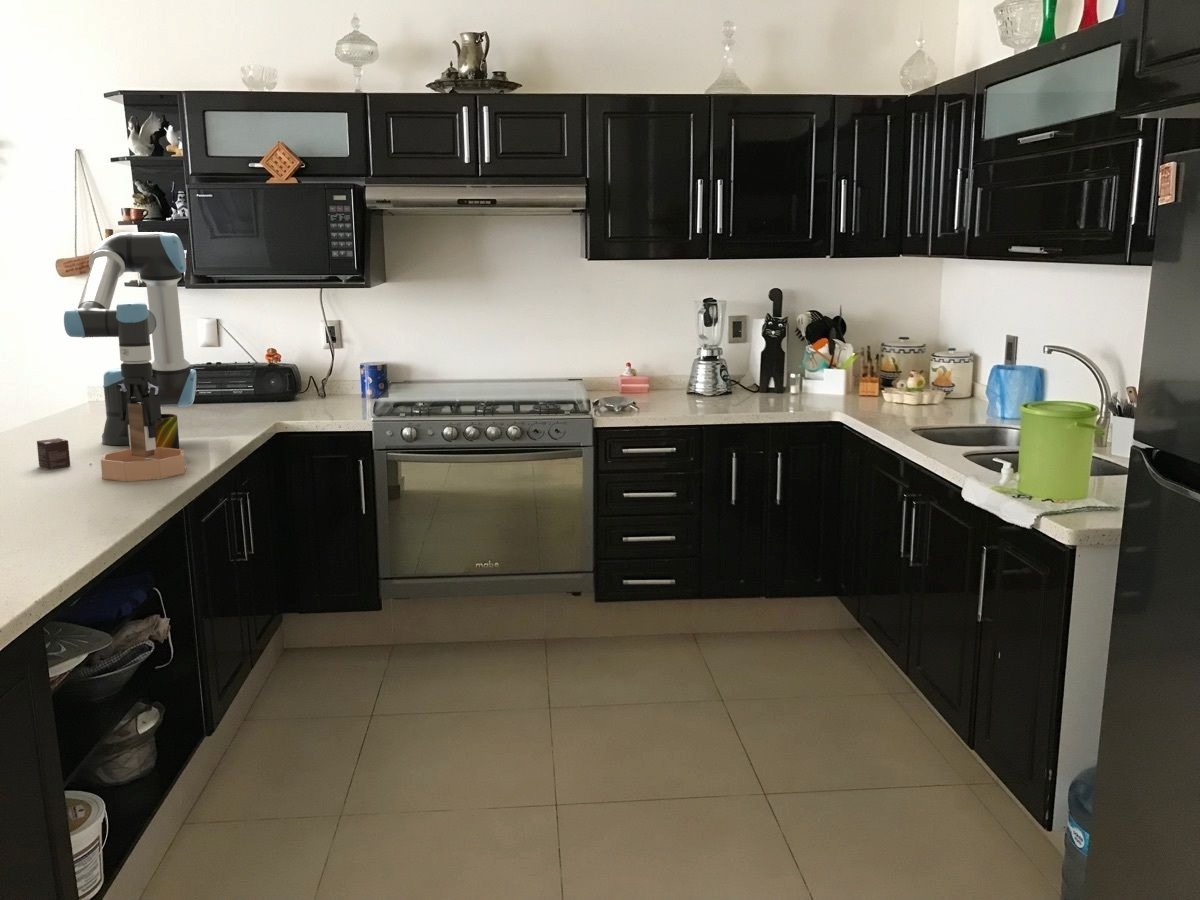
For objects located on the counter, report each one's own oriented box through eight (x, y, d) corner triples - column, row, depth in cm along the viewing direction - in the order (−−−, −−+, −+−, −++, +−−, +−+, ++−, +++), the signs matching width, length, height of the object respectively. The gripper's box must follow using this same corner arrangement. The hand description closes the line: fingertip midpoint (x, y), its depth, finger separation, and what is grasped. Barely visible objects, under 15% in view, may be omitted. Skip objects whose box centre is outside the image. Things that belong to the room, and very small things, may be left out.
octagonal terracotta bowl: (146, 462, 286) (145, 445, 285) (202, 469, 278) (201, 451, 277) (84, 476, 268) (83, 458, 267) (142, 483, 260) (141, 464, 259)
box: (61, 463, 285) (59, 437, 283) (71, 466, 281) (68, 440, 280) (38, 466, 280) (36, 440, 279) (48, 469, 276) (45, 443, 275)
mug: (131, 455, 296) (127, 415, 294) (181, 453, 300) (179, 413, 298) (125, 462, 287) (122, 420, 285) (177, 459, 291) (175, 418, 289)
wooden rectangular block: (140, 453, 274) (136, 402, 272) (154, 455, 272) (150, 403, 270) (131, 455, 272) (127, 403, 269) (145, 457, 270) (141, 404, 267)
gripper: (99, 361, 267) (106, 448, 272) (150, 364, 261) (157, 454, 265) (122, 359, 274) (129, 444, 279) (173, 362, 267) (179, 449, 272)
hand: (142, 448), depth 272 cm, fingers closed on wooden rectangular block, 5 cm apart
